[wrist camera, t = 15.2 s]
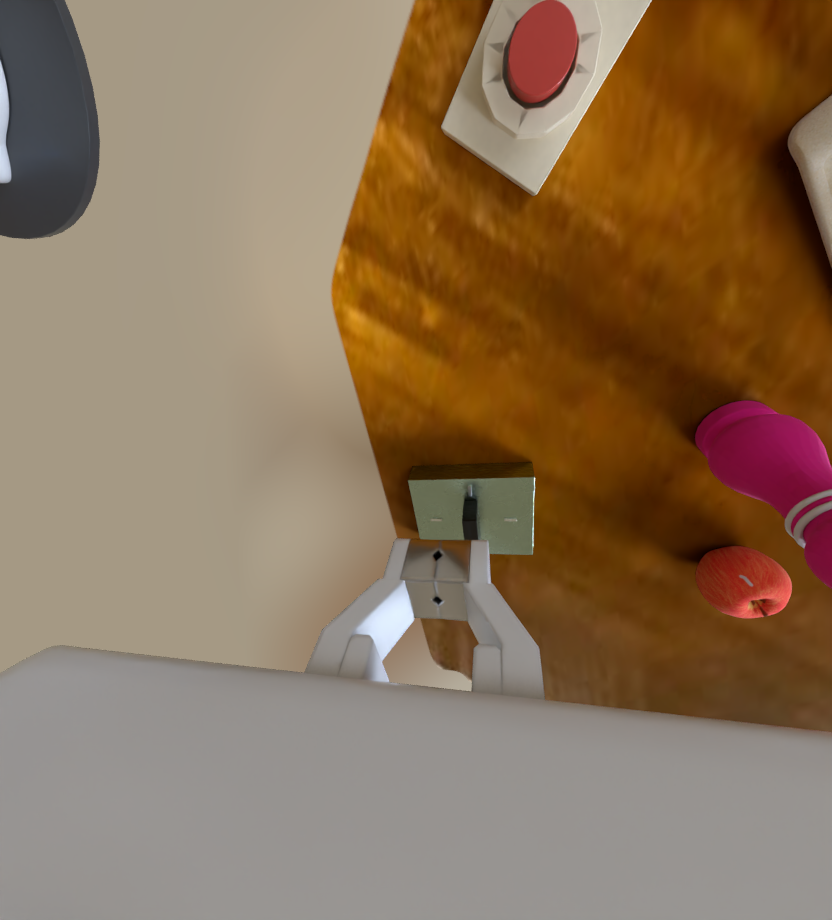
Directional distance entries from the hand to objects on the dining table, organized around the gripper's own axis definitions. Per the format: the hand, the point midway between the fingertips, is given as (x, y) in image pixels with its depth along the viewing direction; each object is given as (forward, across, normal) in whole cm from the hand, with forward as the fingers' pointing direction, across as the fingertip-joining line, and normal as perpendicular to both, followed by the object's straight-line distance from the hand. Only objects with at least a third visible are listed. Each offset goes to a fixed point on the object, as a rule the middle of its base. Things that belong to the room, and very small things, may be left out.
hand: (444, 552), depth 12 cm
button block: (+27, -5, -16) cm, 32 cm away
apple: (+27, -28, +30) cm, 49 cm away
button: (+24, -5, -16) cm, 29 cm away
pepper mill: (+27, -24, +12) cm, 38 cm away
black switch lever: (+24, +2, +21) cm, 32 cm away
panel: (+27, +2, +21) cm, 34 cm away
